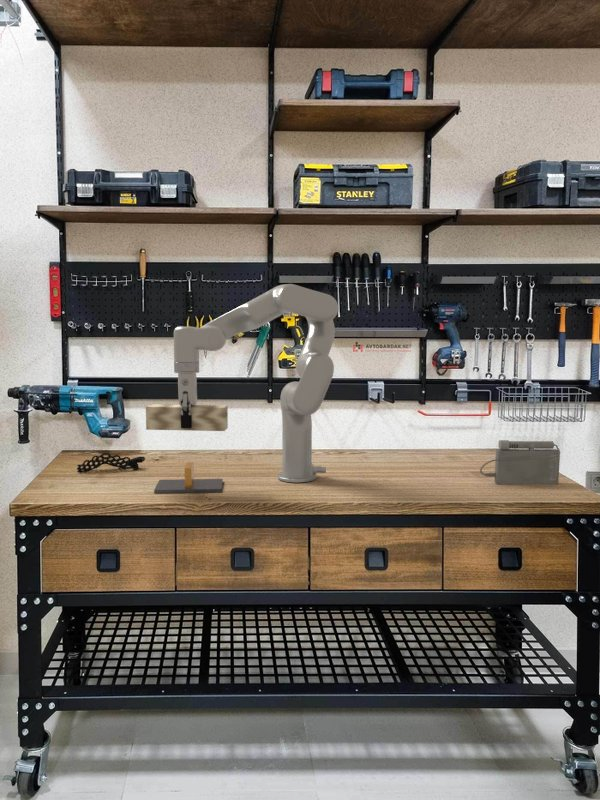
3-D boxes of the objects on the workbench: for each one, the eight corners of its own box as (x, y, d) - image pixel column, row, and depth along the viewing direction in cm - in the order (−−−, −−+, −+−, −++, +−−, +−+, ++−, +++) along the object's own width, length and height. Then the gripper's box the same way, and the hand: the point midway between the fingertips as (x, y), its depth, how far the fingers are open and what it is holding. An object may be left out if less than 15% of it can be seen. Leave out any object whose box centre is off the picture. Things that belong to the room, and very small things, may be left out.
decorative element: (76, 474, 227) (76, 457, 226) (77, 470, 232) (77, 453, 231) (145, 470, 233) (145, 454, 232) (145, 467, 237) (144, 450, 237)
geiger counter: (556, 438, 217) (478, 438, 217) (564, 442, 211) (484, 442, 211) (554, 481, 219) (477, 481, 219) (562, 486, 212) (482, 486, 212)
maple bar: (227, 427, 210) (227, 405, 209) (224, 431, 204) (224, 408, 203) (151, 426, 211) (150, 404, 210) (146, 429, 206) (145, 406, 205)
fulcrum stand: (222, 481, 217) (222, 460, 216) (221, 492, 205) (220, 469, 204) (159, 482, 216) (159, 461, 215) (154, 493, 204) (153, 470, 203)
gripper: (196, 370, 197) (197, 431, 199) (201, 365, 214) (201, 421, 216) (170, 370, 196) (171, 431, 199) (177, 364, 213) (178, 421, 216)
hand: (187, 425), depth 208 cm, fingers closed on maple bar, 6 cm apart
